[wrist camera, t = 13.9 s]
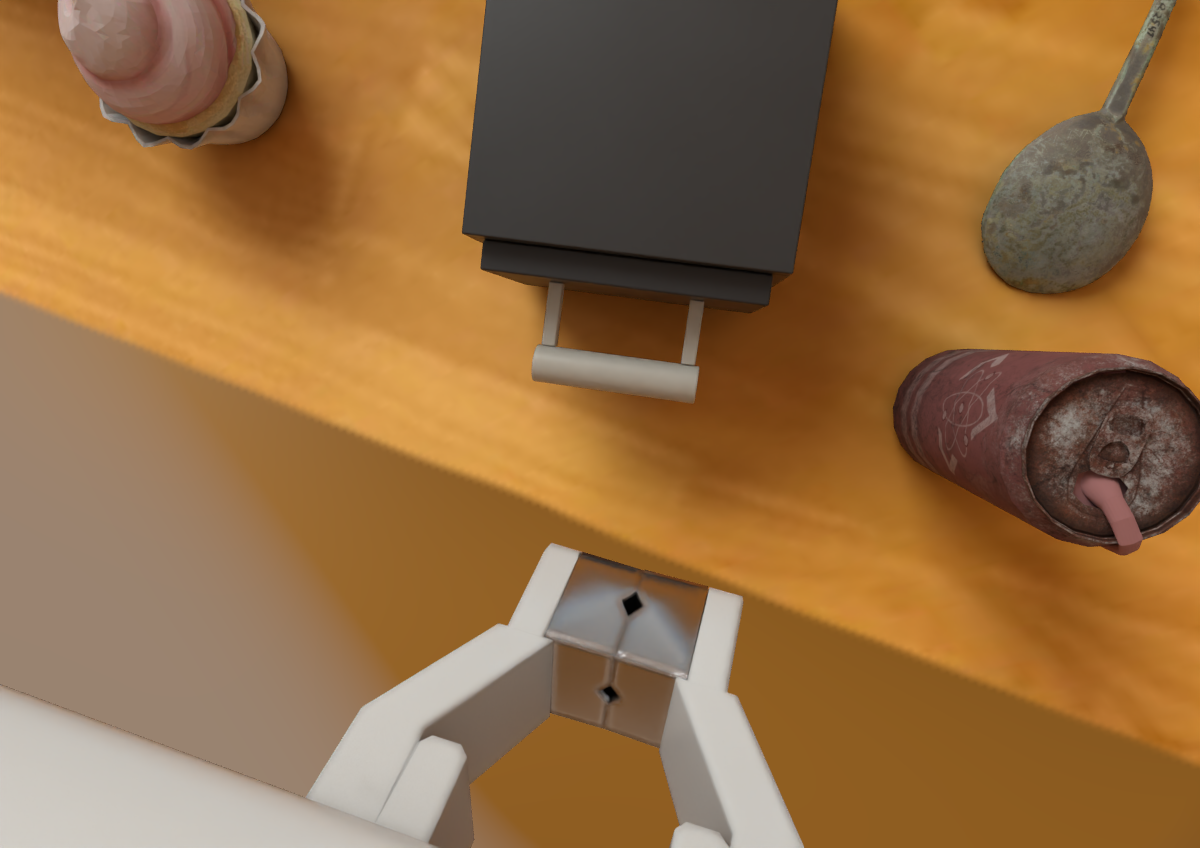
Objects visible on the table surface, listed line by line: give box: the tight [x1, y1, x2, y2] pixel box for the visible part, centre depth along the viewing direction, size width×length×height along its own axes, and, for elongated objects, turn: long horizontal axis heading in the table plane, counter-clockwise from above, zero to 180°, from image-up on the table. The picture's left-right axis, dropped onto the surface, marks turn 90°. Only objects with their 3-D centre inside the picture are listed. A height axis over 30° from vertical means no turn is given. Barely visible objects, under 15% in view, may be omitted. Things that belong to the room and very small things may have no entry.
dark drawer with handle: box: [481, 239, 773, 404], centre depth 32 cm, size 18×11×8 cm, turn 172°
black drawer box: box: [462, 0, 838, 287], centre depth 31 cm, size 15×13×10 cm
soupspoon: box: [981, 0, 1176, 294], centre depth 32 cm, size 22×3×7 cm
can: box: [893, 349, 1200, 555], centre depth 29 cm, size 6×6×14 cm
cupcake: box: [58, 0, 288, 149], centre depth 33 cm, size 9×9×10 cm
